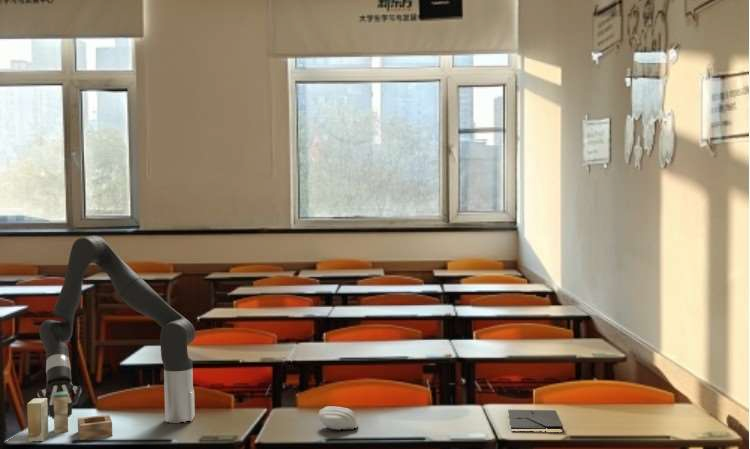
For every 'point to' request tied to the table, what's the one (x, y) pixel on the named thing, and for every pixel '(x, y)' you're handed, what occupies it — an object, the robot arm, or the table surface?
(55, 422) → the peg
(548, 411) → the picture frame
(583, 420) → the table surface
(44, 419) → the skincare box
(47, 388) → the robot arm
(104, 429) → the socket block
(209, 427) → the table surface
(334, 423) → the shell shaped sculpture
